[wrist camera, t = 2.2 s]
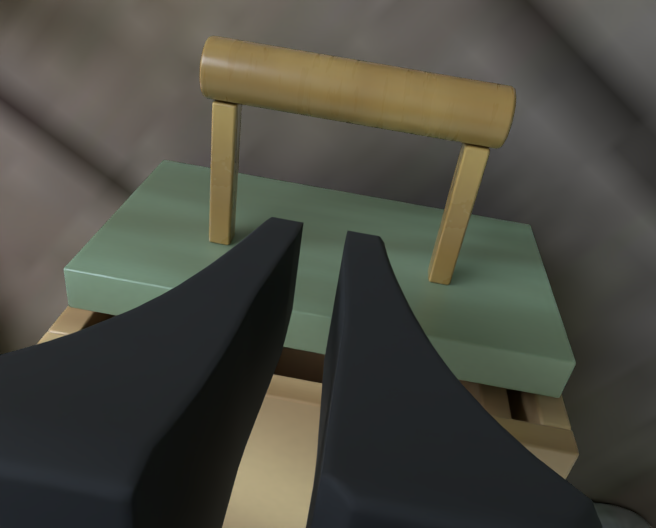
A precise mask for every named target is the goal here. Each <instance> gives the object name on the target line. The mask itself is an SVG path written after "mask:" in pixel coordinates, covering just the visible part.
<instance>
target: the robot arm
mask: <svg viewBox="0 0 656 528" xmlns="http://www.w3.org/2000/svg"><path fill="white" fill-rule="evenodd" d="M303 223H304V222H298V221H292V220H287V219H281V218H276V217H271V218H269V219H268V220H266V221H265V222H264V223H262V224H261V225H260V226H259V227H258V228H256V229H255V230H254V231H253V232H252V233H250V234H249V235H248V236H247V237H245V238H244V239H243V240H242V241H240V242H239V243H238V244H237V245H235V246H234V247H233V248H232V249H230V250H229V251H227V252H226V253H225V254H223V255H222V256H221V257H219V258H218V259H217V260H215V261H214V262H213V263H211V264H210V265H208V266H207V267H206V268H204V269H202V270H201V271H199V272H198V273H196V274H195V275H193V276H192V277H190V278H189V279H187V280H186V281H184V282H182V283H181V284H179V285H178V286H176V287H174V288H173V289H171V290H169V291H167V292H165V293H164V294H162V295H160V296H158V297H156V298H154V299H152V300H150V301H148V302H146V303H144V304H142V305H140V306H138V307H136V308H134V309H131V310H129V311H127V312H124V313H122V314H120V315H117V316H115V317H112V318H110V319H107V320H105V321H102V322H100V323H97V324H95V325H92V326H90V327H88V328H85V329H83V330H80V331H77V332H74V333H71V334H68V335H65V336H62V337H59V338H56V339H53V340H50V341H47V342H43V343H40V344H37V345H33V346H30V347H27V348H23V349H20V350H16V351H12V352H9V353H5V354H1V355H0V528H222V526H223V523H224V519H225V515H226V511H227V508H228V504H229V500H230V497H231V493H232V489H233V486H234V482H235V479H236V475H237V471H238V468H239V465H240V462H241V459H242V456H243V453H244V450H245V447H246V444H247V442H248V439H249V437H250V434H251V431H252V429H253V426H254V424H255V421H256V418H257V416H258V413H259V411H260V408H261V406H262V403H263V400H264V398H265V395H266V393H267V390H268V387H269V385H270V382H271V380H272V377H273V374H274V372H275V369H276V367H277V364H278V361H279V359H280V356H281V353H282V350H283V346H284V342H285V338H286V334H287V330H288V326H289V322H290V318H291V314H292V310H293V302H294V294H295V286H296V278H297V271H298V263H299V255H300V247H301V239H302V231H303ZM306 528H603V526H602V524H601V521H600V519H599V517H598V515H597V512H596V509H595V507H594V504H593V502H592V500H591V499H589V498H588V497H587V496H586V495H584V494H583V493H582V492H581V491H579V490H578V489H577V488H575V487H574V486H573V485H572V484H570V483H569V482H568V481H567V480H565V479H564V478H563V477H561V476H560V475H559V474H558V473H556V472H555V471H554V470H552V469H551V468H550V467H549V466H547V465H546V464H545V463H544V462H542V461H541V460H540V459H538V458H537V457H536V456H535V455H534V454H532V453H531V452H530V451H529V450H528V449H527V448H526V447H525V446H523V445H522V444H521V443H520V442H519V441H518V440H517V439H516V438H515V437H514V436H512V435H511V434H510V433H509V432H508V431H507V430H506V429H505V428H504V427H503V426H501V425H500V424H499V423H498V422H497V421H496V420H495V419H494V418H493V417H492V416H491V415H490V414H489V413H488V412H487V411H486V410H485V409H484V408H483V406H482V405H481V404H480V403H479V402H478V401H477V400H476V399H475V398H474V397H473V395H472V394H471V393H470V392H469V391H468V390H467V389H466V388H465V387H464V386H463V385H462V383H461V382H460V381H459V380H458V379H457V377H456V376H455V375H454V374H453V373H452V371H451V370H450V369H449V367H448V366H447V365H446V363H445V362H444V361H443V359H442V358H441V356H440V355H439V354H438V352H437V351H436V349H435V348H434V346H433V345H432V343H431V342H430V340H429V339H428V337H427V336H426V334H425V332H424V331H423V329H422V327H421V326H420V324H419V322H418V320H417V319H416V317H415V315H414V313H413V311H412V310H411V308H410V306H409V304H408V302H407V300H406V298H405V296H404V294H403V291H402V289H401V287H400V285H399V283H398V281H397V278H396V276H395V274H394V271H393V269H392V266H391V263H390V261H389V258H388V255H387V251H386V248H385V243H384V241H383V240H382V239H381V237H380V236H376V235H370V234H365V233H359V232H354V231H348V230H347V235H346V239H345V244H344V249H343V255H342V260H341V266H340V272H339V278H338V283H337V289H336V295H335V301H334V306H333V312H332V318H331V324H330V329H329V335H328V341H327V347H326V352H325V358H324V368H323V381H322V394H321V406H320V419H319V432H318V445H317V458H316V467H315V475H314V483H313V489H312V495H311V501H310V506H309V512H308V518H307V524H306Z"/></svg>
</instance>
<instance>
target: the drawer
mask: <svg viewBox="0 0 656 528" xmlns="http://www.w3.org/2000/svg"><path fill="white" fill-rule="evenodd" d="M199 79H200V88H201V92H202V94H203V96H204V97H206V98H208V99H214V100H215V101H214V102H213V103H212V132H211V168H207V167H201V166H196V165H190V164H185V163H179V162H173V161H168V160H163V161H162V162H161V163H160V164H159V165H158V167H157V168H156V169H155V170H154V171H153V172H152V173H151V174H150V175H149V176H148V177H147V179H146V180H145V181H144V182H143V183H142V184H141V185H140V186H139V187H138V188H137V189H136V190H135V192H134V193H133V194H132V195H131V196H130V197H129V198H128V199H127V200H126V201H125V202H124V204H123V205H122V206H121V207H120V208H119V209H118V210H117V211H116V212H115V213H114V214H113V216H112V217H111V218H110V219H109V220H108V221H107V222H106V223H105V224H104V225H103V226H102V227H101V229H100V230H99V231H98V232H97V233H96V234H95V235H94V236H93V237H92V238H91V239H90V241H89V242H88V243H87V244H86V245H85V246H84V247H83V248H82V249H81V250H80V251H79V253H78V254H77V255H76V256H75V257H74V258H73V259H72V260H71V261H70V262H69V263H68V264H67V266H66V267H65V268H64V276H65V283H66V290H67V298H68V305H69V307H72V308H77V309H83V310H88V311H94V312H99V313H104V314H110V315H115V316H117V315H120V314H122V313H124V312H127V311H129V310H131V309H134V308H136V307H138V306H140V305H142V304H144V303H146V302H148V301H150V300H152V299H154V298H156V297H158V296H160V295H162V294H164V293H165V292H167V291H169V290H171V289H173V288H174V287H176V286H178V285H179V284H181V283H182V282H184V281H186V280H187V279H189V278H190V277H192V276H193V275H195V274H196V273H198V272H199V271H201V270H202V269H204V268H206V267H207V266H208V265H210V264H211V263H213V262H214V261H215V260H217V259H218V258H219V257H221V256H222V255H223V254H225V253H226V252H227V251H229V250H230V249H232V248H233V247H234V246H235V245H237V244H238V243H239V242H240V241H242V240H243V239H244V238H245V237H247V236H248V235H249V234H250V233H252V232H253V231H254V230H255V229H256V228H258V227H259V226H260V225H261V224H262V223H264V222H265V221H266V220H268V219H269V218H271V217H276V218H281V219H287V220H292V221H298V222H304V223H303V231H302V239H301V247H300V255H299V263H298V271H297V278H296V286H295V294H294V302H293V310H292V314H291V318H290V322H289V326H288V330H287V334H286V338H285V342H284V346H283V350H282V353H281V356H280V359H279V361H278V364H277V367H276V369H275V372H274V374H275V375H280V376H286V377H291V378H296V379H302V380H307V381H312V382H318V383H322V381H323V368H324V358H325V352H326V347H327V341H328V335H329V329H330V324H331V318H332V312H333V306H334V301H335V295H336V289H337V283H338V278H339V272H340V266H341V260H342V255H343V249H344V244H345V239H346V235H347V230H348V231H354V232H359V233H365V234H370V235H376V236H380V237H381V239H382V240H383V241H384V243H385V248H386V251H387V255H388V258H389V261H390V263H391V266H392V269H393V271H394V274H395V276H396V278H397V281H398V283H399V285H400V287H401V289H402V291H403V294H404V296H405V298H406V300H407V302H408V304H409V306H410V308H411V310H412V311H413V313H414V315H415V317H416V319H417V320H418V322H419V324H420V326H421V327H422V329H423V331H424V332H425V334H426V336H427V337H428V339H429V340H430V342H431V343H432V345H433V346H434V348H435V349H436V351H437V352H438V354H439V355H440V356H441V358H442V359H443V361H444V362H445V363H446V365H447V366H448V367H449V369H450V370H451V371H452V373H453V374H454V375H455V376H456V377H457V379H458V380H459V381H460V382H461V383H462V385H463V386H464V387H465V388H466V389H467V390H468V391H469V392H470V393H471V394H472V395H473V397H474V398H475V399H476V400H477V401H478V402H479V403H480V404H481V405H482V406H483V408H484V409H485V410H486V411H487V412H488V413H489V414H490V415H493V416H498V417H504V418H509V419H512V418H511V412H510V407H509V401H508V395H507V390H506V389H511V390H517V391H522V392H528V393H533V394H538V395H544V396H549V397H554V398H559V397H560V396H561V394H562V392H563V390H564V387H565V385H566V383H567V381H568V379H569V377H570V375H571V373H572V371H573V369H574V367H575V365H576V361H575V358H574V355H573V352H572V349H571V346H570V343H569V340H568V337H567V334H566V331H565V328H564V325H563V322H562V319H561V316H560V313H559V310H558V307H557V304H556V301H555V298H554V295H553V292H552V289H551V286H550V283H549V280H548V277H547V274H546V271H545V268H544V265H543V262H542V259H541V256H540V253H539V250H538V247H537V244H536V241H535V238H534V235H533V232H532V229H531V226H530V225H529V224H523V223H517V222H512V221H506V220H500V219H495V218H489V217H483V216H478V215H472V214H471V213H472V210H473V207H474V203H475V200H476V197H477V193H478V190H479V187H480V184H481V180H482V177H483V174H484V170H485V167H486V164H487V160H488V157H489V154H490V149H489V147H490V148H496V149H497V148H500V147H502V145H503V144H504V142H505V140H506V139H507V136H508V134H509V131H510V128H511V125H512V121H513V117H514V112H515V106H516V91H515V88H513V87H512V86H507V85H501V84H496V83H490V82H484V81H478V80H472V79H466V78H460V77H454V76H448V75H443V74H437V73H431V72H425V71H419V70H413V69H407V68H401V67H395V66H390V65H384V64H378V63H372V62H366V61H360V60H354V59H348V58H342V57H337V56H331V55H325V54H319V53H313V52H307V51H301V50H295V49H289V48H284V47H278V46H272V45H266V44H260V43H254V42H248V41H242V40H236V39H231V38H225V37H219V36H210V37H209V38H208V39H207V41H206V43H205V45H204V48H203V51H202V55H201V61H200V71H199ZM242 105H248V106H254V107H260V108H266V109H271V110H277V111H283V112H289V113H294V114H300V115H306V116H312V117H317V118H323V119H329V120H335V121H340V122H346V123H352V124H358V125H364V126H369V127H375V128H381V129H387V130H392V131H398V132H404V133H410V134H415V135H421V136H427V137H433V138H439V139H444V140H450V141H456V142H462V147H461V150H460V154H459V158H458V161H457V165H456V169H455V172H454V176H453V180H452V183H451V187H450V191H449V194H448V198H447V202H446V205H445V209H438V208H433V207H427V206H421V205H416V204H410V203H405V202H399V201H393V200H388V199H382V198H376V197H371V196H365V195H359V194H354V193H348V192H342V191H337V190H331V189H326V188H320V187H314V186H309V185H303V184H297V183H292V182H286V181H280V180H275V179H269V178H264V177H258V176H252V175H247V174H241V173H238V164H239V145H240V127H241V108H242Z"/></svg>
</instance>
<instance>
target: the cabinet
mask: <svg viewBox="0 0 656 528" xmlns="http://www.w3.org/2000/svg"><path fill="white" fill-rule="evenodd" d="M112 317H115V315H110V314H104V313H99V312H94V311H88V310H83V309H77V308H72V307H69V306H68V307H67V308H66V309H65V310H64V312H63V313H62V314H61V315H60V316H59V318H58V319H57V320H56V321H55V322H54V324H53V325H52V326H51V327H50V328H49V330H48V332H47V333H46V334H45V335H44V336H43V337H42V338H41V340H40V341H39V342H38V343H37V344H40V343H43V342H47V341H50V340H53V339H56V338H59V337H62V336H65V335H68V334H71V333H74V332H77V331H80V330H83V329H85V328H88V327H90V326H92V325H95V324H97V323H100V322H102V321H105V320H107V319H110V318H112ZM37 344H36V345H37ZM506 390H507V395H508V401H509V407H510V412H511V418H512V419H509V418H504V417H498V416H493V415H491V416H492V417H493V418H494V419H495V420H496V421H497V422H498V423H499V424H500V425H501V426H503V427H504V428H505V429H506V430H507V431H508V432H509V433H510V434H511V435H512V436H514V437H515V438H516V439H517V440H518V441H519V442H520V443H521V444H522V445H523V446H525V447H526V448H527V449H528V450H529V451H530V452H531V453H532V454H534V455H535V456H536V457H537V458H538V459H540V460H541V461H542V462H544V463H545V464H546V465H547V466H549V467H550V468H551V469H552V470H554V471H555V472H556V473H558V474H559V475H560V476H561V477H563V478H564V479H565V480H566V478H567V476H568V474H569V473H570V471H571V469H572V467H573V465H574V464H575V462H576V460H577V458H578V456H579V452H578V448H577V445H576V441H575V438H574V434H573V432H572V431H571V425H570V422H569V418H568V415H567V411H566V408H565V404H564V401H563V397H562V394H561V396H560V397H559V398H554V397H549V396H544V395H538V394H533V393H528V392H522V391H517V390H511V389H506ZM321 394H322V383H318V382H312V381H307V380H302V379H296V378H291V377H286V376H280V375H275V374H273V377H272V380H271V382H270V385H269V387H268V390H267V393H266V395H265V398H264V400H263V403H262V406H261V408H260V411H259V413H258V416H257V418H256V421H255V424H254V426H253V429H252V431H251V434H250V437H249V439H248V442H247V444H246V447H245V450H244V453H243V456H242V459H241V462H240V465H239V468H238V471H237V475H236V479H235V482H234V486H233V489H232V493H231V497H230V500H229V504H228V508H227V511H226V515H225V519H224V523H223V526H222V528H306V524H307V518H308V512H309V506H310V501H311V495H312V489H313V483H314V475H315V467H316V458H317V445H318V432H319V419H320V406H321Z"/></svg>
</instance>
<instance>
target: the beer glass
mask: <svg viewBox="0 0 656 528" xmlns="http://www.w3.org/2000/svg"><path fill="white" fill-rule="evenodd" d="M593 504H594V507H595V509H596V512H597V515H598V517H599V519H600V521H601V524H602V526H603V528H651V526H650V525H649V524H648V523H647V522H646V521H645V520H644V519H643V518H642V517H640V516H639V515H637V514H636V513H634V512H632V511H630V510H627V509H625V508H622V507H619V506H615V505H610V504H604V503H593Z"/></svg>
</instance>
